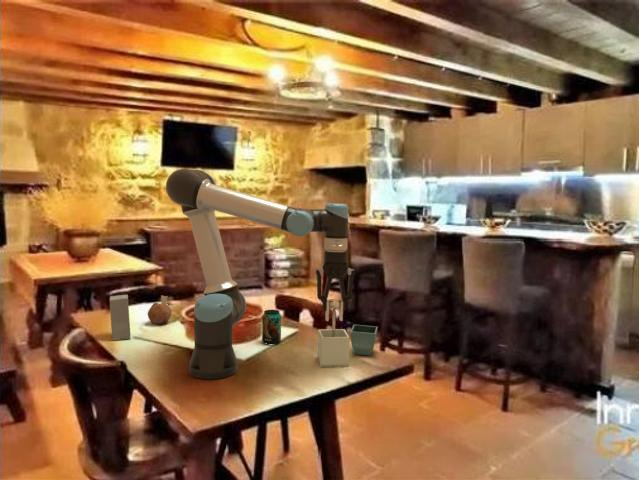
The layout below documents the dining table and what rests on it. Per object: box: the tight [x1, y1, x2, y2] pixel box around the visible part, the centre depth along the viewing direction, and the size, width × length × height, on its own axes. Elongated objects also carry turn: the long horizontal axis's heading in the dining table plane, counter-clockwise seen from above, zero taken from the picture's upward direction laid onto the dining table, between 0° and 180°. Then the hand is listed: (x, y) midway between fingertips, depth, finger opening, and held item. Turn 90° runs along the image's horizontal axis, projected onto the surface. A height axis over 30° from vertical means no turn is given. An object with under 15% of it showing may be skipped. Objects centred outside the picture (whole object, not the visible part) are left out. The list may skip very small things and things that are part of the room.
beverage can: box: [261, 309, 282, 345], centre depth 180 cm, size 7×7×12 cm
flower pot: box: [350, 324, 379, 356], centre depth 171 cm, size 9×9×9 cm
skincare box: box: [109, 294, 131, 341], centre depth 181 cm, size 8×7×16 cm
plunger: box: [327, 298, 341, 337], centre depth 160 cm, size 7×7×18 cm
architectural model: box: [160, 295, 176, 307], centre depth 222 cm, size 3×7×7 cm, turn 41°
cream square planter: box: [316, 328, 351, 368], centre depth 161 cm, size 9×9×10 cm
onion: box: [147, 302, 172, 326], centre depth 201 cm, size 10×9×10 cm
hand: (333, 319), depth 160 cm, fingers closed on plunger, 4 cm apart
